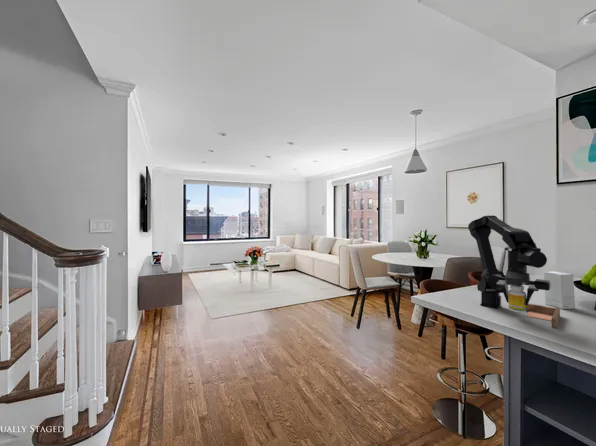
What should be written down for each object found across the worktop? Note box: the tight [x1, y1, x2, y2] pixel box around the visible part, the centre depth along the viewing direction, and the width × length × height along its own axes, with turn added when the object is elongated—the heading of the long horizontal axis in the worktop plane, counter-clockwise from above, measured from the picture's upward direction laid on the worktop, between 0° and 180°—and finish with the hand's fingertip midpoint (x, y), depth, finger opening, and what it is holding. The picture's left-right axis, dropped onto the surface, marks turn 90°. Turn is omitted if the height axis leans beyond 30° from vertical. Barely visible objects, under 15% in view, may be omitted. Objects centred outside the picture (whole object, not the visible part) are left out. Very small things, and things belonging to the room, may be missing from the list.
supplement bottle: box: [507, 285, 527, 313], centre depth 106 cm, size 5×5×10 cm
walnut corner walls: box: [526, 302, 561, 329], centre depth 107 cm, size 13×17×3 cm
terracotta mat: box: [525, 311, 553, 322], centre depth 109 cm, size 8×8×1 cm
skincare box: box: [543, 270, 576, 310], centre depth 121 cm, size 8×6×15 cm
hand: (517, 303), depth 106 cm, fingers closed on supplement bottle, 5 cm apart
